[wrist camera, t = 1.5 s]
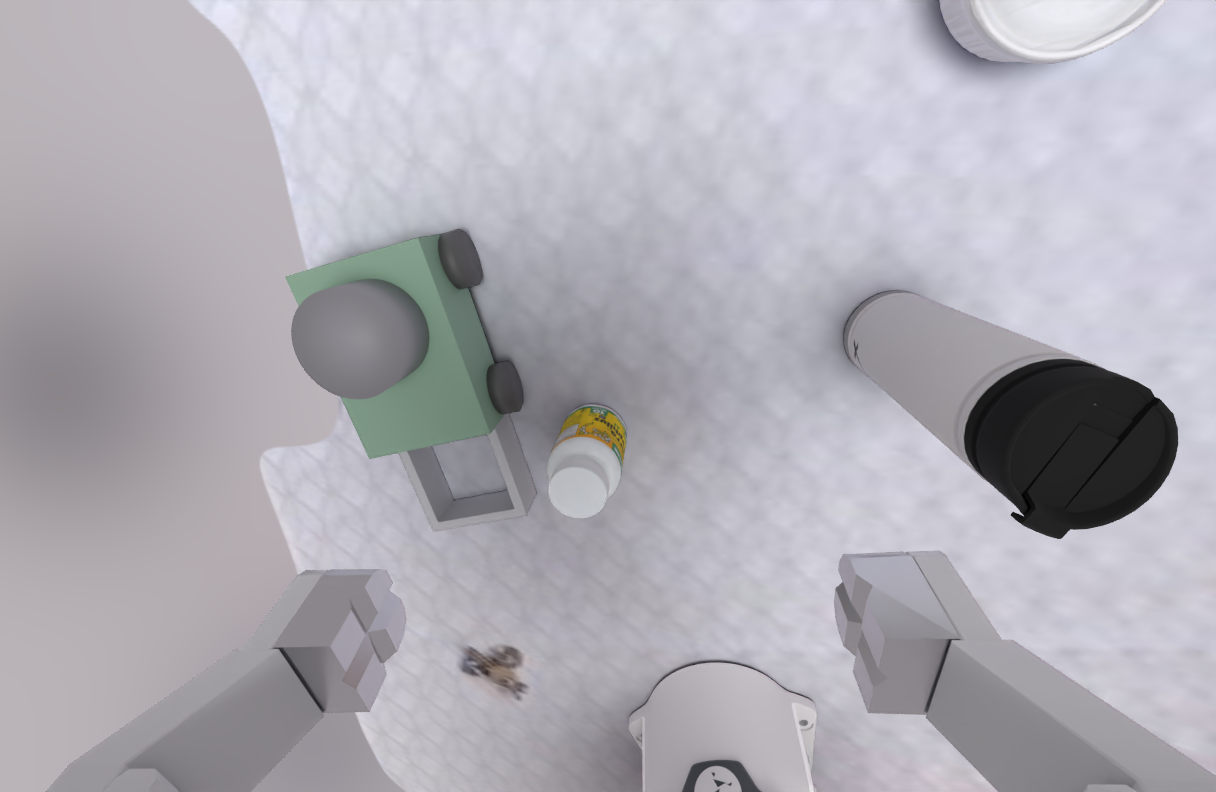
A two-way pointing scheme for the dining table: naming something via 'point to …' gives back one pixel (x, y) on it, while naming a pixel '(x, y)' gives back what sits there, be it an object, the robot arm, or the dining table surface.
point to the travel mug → (1019, 411)
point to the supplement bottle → (586, 461)
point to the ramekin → (1042, 26)
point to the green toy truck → (415, 366)
